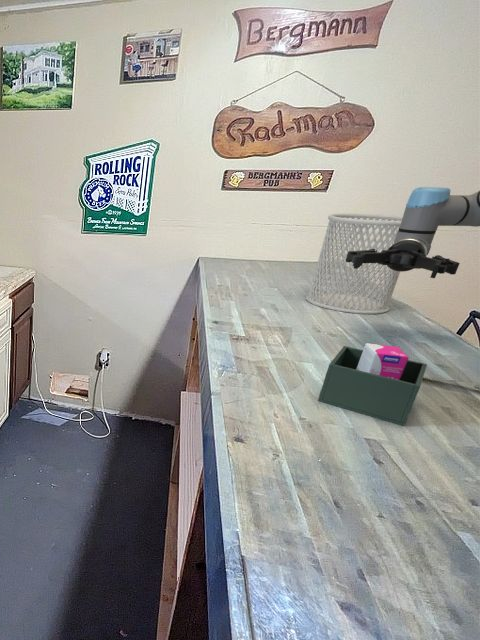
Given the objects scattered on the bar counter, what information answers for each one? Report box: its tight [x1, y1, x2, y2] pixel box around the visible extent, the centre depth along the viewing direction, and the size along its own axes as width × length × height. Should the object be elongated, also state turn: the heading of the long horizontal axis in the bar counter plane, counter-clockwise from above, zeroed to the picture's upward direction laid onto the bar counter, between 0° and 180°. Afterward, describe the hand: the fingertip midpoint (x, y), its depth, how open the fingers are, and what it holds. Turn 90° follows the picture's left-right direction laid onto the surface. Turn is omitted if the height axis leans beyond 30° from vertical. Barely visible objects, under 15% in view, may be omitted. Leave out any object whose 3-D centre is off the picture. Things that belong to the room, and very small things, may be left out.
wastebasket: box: [305, 212, 403, 315], centre depth 158 cm, size 25×25×30 cm
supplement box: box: [356, 342, 409, 380], centre depth 95 cm, size 6×6×12 cm
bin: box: [317, 345, 428, 427], centre depth 96 cm, size 14×14×9 cm
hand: (394, 267), depth 101 cm, fingers open, 13 cm apart
